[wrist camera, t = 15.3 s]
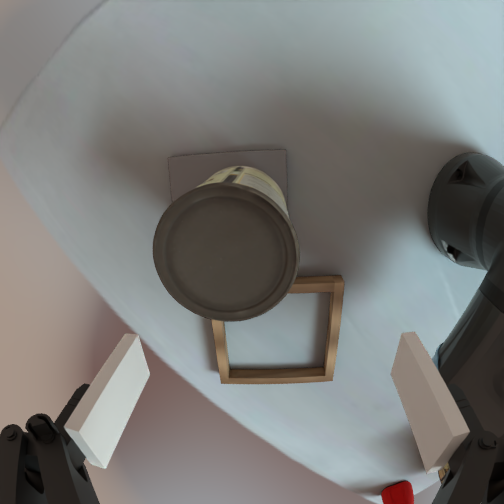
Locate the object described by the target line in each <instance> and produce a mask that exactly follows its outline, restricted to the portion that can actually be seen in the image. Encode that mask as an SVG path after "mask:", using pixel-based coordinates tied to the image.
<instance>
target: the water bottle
mask: <svg viewBox="0 0 504 504" xmlns="http://www.w3.org/2000/svg"><path fill="white" fill-rule="evenodd" d="M381 496H382V500H383V503H384V504H414V495H413V489H412V485H411V483H410V482H408V481H403V482H401V483H398V484H395V485H393V486H390V487H387V488H385V489H384V490H383V491H382V494H381Z"/></svg>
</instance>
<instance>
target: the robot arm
mask: <svg viewBox="0 0 504 504" xmlns="http://www.w3.org/2000/svg"><path fill="white" fill-rule="evenodd" d="M428 223H429V229H430V233H431V236H432V238H433V241H434V243H435V244H436V246H437V248H438V249H439V250H440V251H441V252H442V253H443V254H444V255H445V256H446V257H448V258H449V259H450V260H452V261H453V262H455V263H457V264H459V265H461V266H466V267H471V268H477V269H483V270H487V271H488V272H487V274H486V276H485V278H484V280H483V281H482V283H481V285H480V287H479V288H478V290H477V292H476V293H475V295H474V297H473V298H472V300H471V302H470V303H469V305H468V307H467V308H466V310H465V312H464V313H463V315H462V316H461V318H460V319H459V321H458V323H457V324H456V326H455V327H454V329H453V330H452V332H451V333H450V334H449V336H448V337H447V339H446V340H445V342H444V343H442V344H441V345H439V347H438V348H437V350H436V353H435V355H434V357H433V358H432V359H431V358H430V356H429V354H428V352H427V351H426V349H425V347H424V346H423V344H422V342H421V341H420V339H419V337H418V336H417V334H416V333H415V332H407V333H402V334H401V338H400V342H399V346H398V349H397V353H396V357H395V360H394V364H393V367H392V371H391V376H392V379H393V381H394V384H395V386H396V389H397V391H398V394H399V397H400V399H401V402H402V404H403V407H404V410H405V412H406V415H407V418H408V421H409V423H410V426H411V429H412V432H413V435H414V437H415V440H416V443H417V446H418V449H419V452H420V455H421V458H422V461H423V464H424V468H425V471H426V474H428V473H432V472H435V471H439V470H442V469H443V468H444V466H445V465H446V464H447V463H448V464H449V467H450V469H449V470H448V471H447V473H446V474H445V475H444V476H443V477H442V479H441V480H440V481H443V482H442V485H441V487H440V489H439V491H438V493H437V495H436V497H435V499H434V500H433V502H432V504H504V166H503V165H502V164H501V163H499V162H498V161H497V160H495V159H494V158H492V157H490V156H487V155H483V154H477V153H465V154H461V155H459V156H457V157H455V158H453V159H452V160H451V161H449V162H448V163H447V164H446V165H445V166H444V168H443V169H442V170H441V172H440V173H439V175H438V176H437V178H436V180H435V182H434V185H433V187H432V190H431V194H430V198H429V204H428ZM149 375H150V372H149V370H148V366H147V363H146V360H145V357H144V354H143V350H142V346H141V343H140V340H139V336H138V335H136V334H125V335H124V336H123V338H122V339H121V340H120V342H119V343H118V345H117V346H116V348H115V349H114V351H113V352H112V353H111V355H110V356H109V358H108V359H107V361H106V362H105V364H104V365H103V367H102V368H101V370H100V371H99V373H98V374H97V376H96V377H95V379H94V380H93V382H92V383H91V385H89V384H83V385H82V386H81V387H79V388H78V389H77V390H76V391H75V392H74V394H73V396H72V397H71V399H70V400H69V401H68V403H67V405H66V406H65V407H64V409H63V410H62V412H61V414H60V415H59V417H58V418H57V420H56V421H55V423H53V421H52V420H51V418H50V417H49V416H48V415H46V414H42V413H41V414H36V415H33V416H32V417H31V418H29V419H28V421H27V423H26V427H25V428H26V429H27V431H28V432H29V433H27V432H23V431H22V429H21V428H20V427H19V426H18V425H15V424H12V425H8V426H6V427H5V428H4V429H3V430H2V432H1V434H0V504H100V503H99V501H98V498H97V496H96V493H95V491H94V488H93V486H92V483H91V480H90V478H89V475H88V472H87V469H86V467H85V465H84V463H83V462H84V460H85V458H87V459H88V461H89V462H90V463H91V464H92V465H95V466H98V467H101V468H104V469H106V467H107V465H108V463H109V461H110V458H111V456H112V454H113V452H114V449H115V447H116V445H117V443H118V441H119V439H120V436H121V434H122V432H123V430H124V428H125V426H126V423H127V421H128V419H129V417H130V415H131V413H132V411H133V409H134V407H135V405H136V402H137V400H138V398H139V396H140V394H141V392H142V390H143V388H144V386H145V384H146V382H147V380H148V378H149Z"/></svg>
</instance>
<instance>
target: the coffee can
mask: <svg viewBox="0 0 504 504" xmlns="http://www.w3.org/2000/svg"><path fill="white" fill-rule="evenodd" d="M153 258H154V263H155V267H156V270H157V273H158V275H159V278H160V280H161V282H162V283H163V285H164V287H165V288H166V290H167V291H168V292H169V294H170V295H171V296H172V297H173V298H174V299H175V300H176V301H177V302H178V303H179V304H181V305H182V306H183V307H185V308H186V309H188V310H190V311H192V312H193V313H195V314H198V315H200V316H202V317H205V318H208V319H212V320H217V321H243V320H247V319H251V318H254V317H257V316H259V315H262V314H264V313H266V312H267V311H269V310H271V309H272V308H273V307H275V306H276V305H277V304H278V303H279V302H280V301H281V300H282V299H283V298H284V297H285V296H286V295H287V293H288V292H289V290H290V289H291V287H292V285H293V283H294V281H295V278H296V276H297V272H298V268H299V259H300V251H299V243H298V239H297V235H296V232H295V230H294V228H293V225H292V223H291V221H290V218H289V214H288V211H287V208H286V202H285V198H284V195H283V193H282V191H281V189H280V188H279V186H278V184H277V183H276V182H275V181H274V180H273V179H272V178H271V177H270V176H268V175H267V174H266V173H264V172H263V171H260V170H258V169H256V168H252V167H248V166H232V167H228V168H225V169H222V170H220V171H218V172H217V173H215V174H214V175H212V176H211V177H210V178H209V179H208V180H206V181H205V182H204V183H202V184H201V185H199V186H198V187H196V188H195V189H192V190H190V191H188V192H187V193H185V194H183V195H182V196H180V197H179V198H177V199H176V200H175V201H174V202H173V203H172V204H171V205H170V206H169V207H168V208H167V210H166V211H165V212H164V214H163V215H162V217H161V219H160V221H159V223H158V225H157V228H156V231H155V235H154V240H153Z"/></svg>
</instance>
